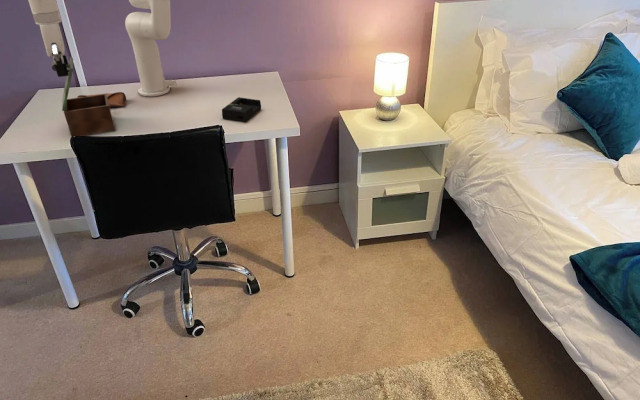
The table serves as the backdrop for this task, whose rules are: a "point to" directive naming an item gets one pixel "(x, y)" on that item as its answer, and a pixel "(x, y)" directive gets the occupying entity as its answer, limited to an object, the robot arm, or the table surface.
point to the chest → (89, 115)
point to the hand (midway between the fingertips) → (63, 71)
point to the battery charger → (241, 109)
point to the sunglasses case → (113, 99)
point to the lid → (67, 84)
